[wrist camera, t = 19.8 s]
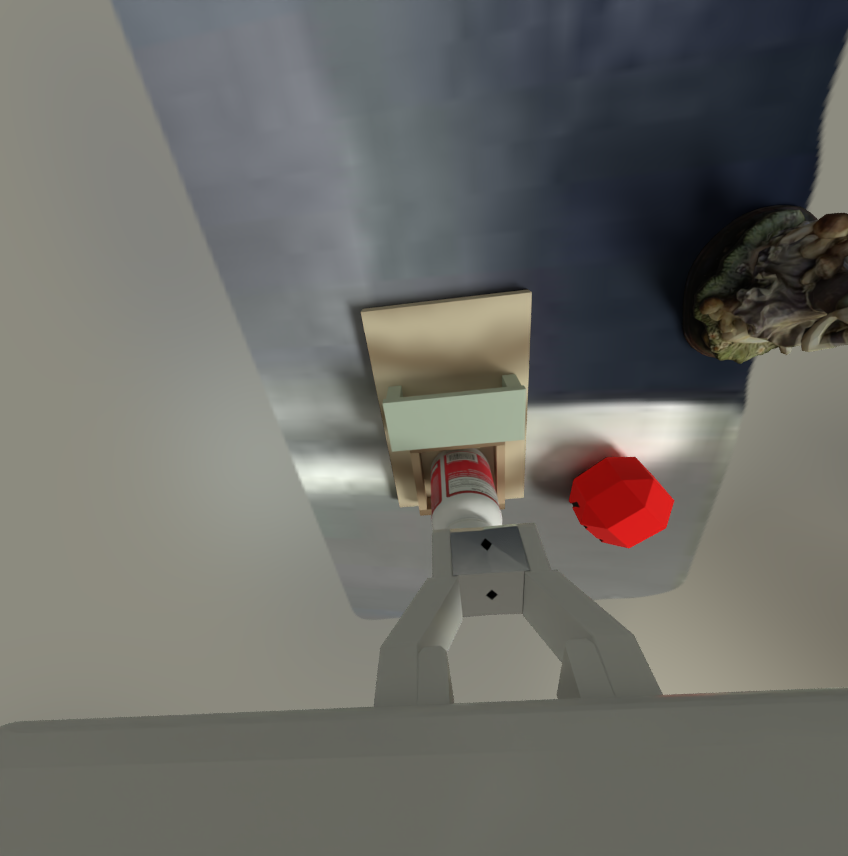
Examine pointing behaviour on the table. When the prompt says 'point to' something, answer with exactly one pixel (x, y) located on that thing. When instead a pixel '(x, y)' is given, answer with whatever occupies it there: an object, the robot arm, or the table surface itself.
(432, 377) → the base
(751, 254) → the figurine
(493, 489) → the pill bottle
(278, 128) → the table surface
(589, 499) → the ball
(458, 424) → the housing cover
